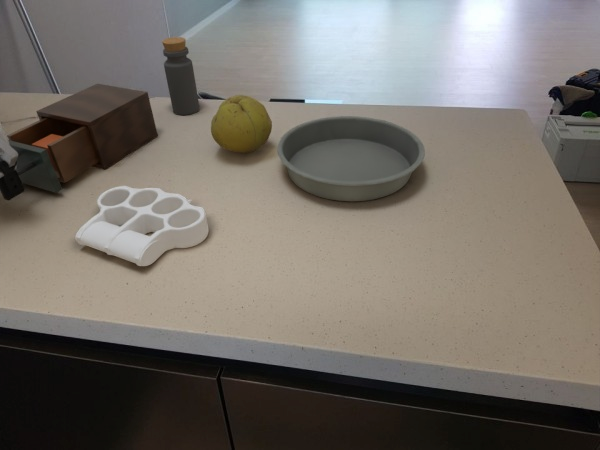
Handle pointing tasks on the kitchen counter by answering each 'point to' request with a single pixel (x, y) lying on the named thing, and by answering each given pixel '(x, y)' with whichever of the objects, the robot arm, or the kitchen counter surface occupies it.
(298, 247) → the kitchen counter surface
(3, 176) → the robot arm
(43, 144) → the block
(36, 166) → the drawer
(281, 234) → the kitchen counter surface
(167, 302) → the kitchen counter surface
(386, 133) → the cake pan
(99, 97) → the cabinet
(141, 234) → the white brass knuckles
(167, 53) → the bottle
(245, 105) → the fruit
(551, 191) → the kitchen counter surface
